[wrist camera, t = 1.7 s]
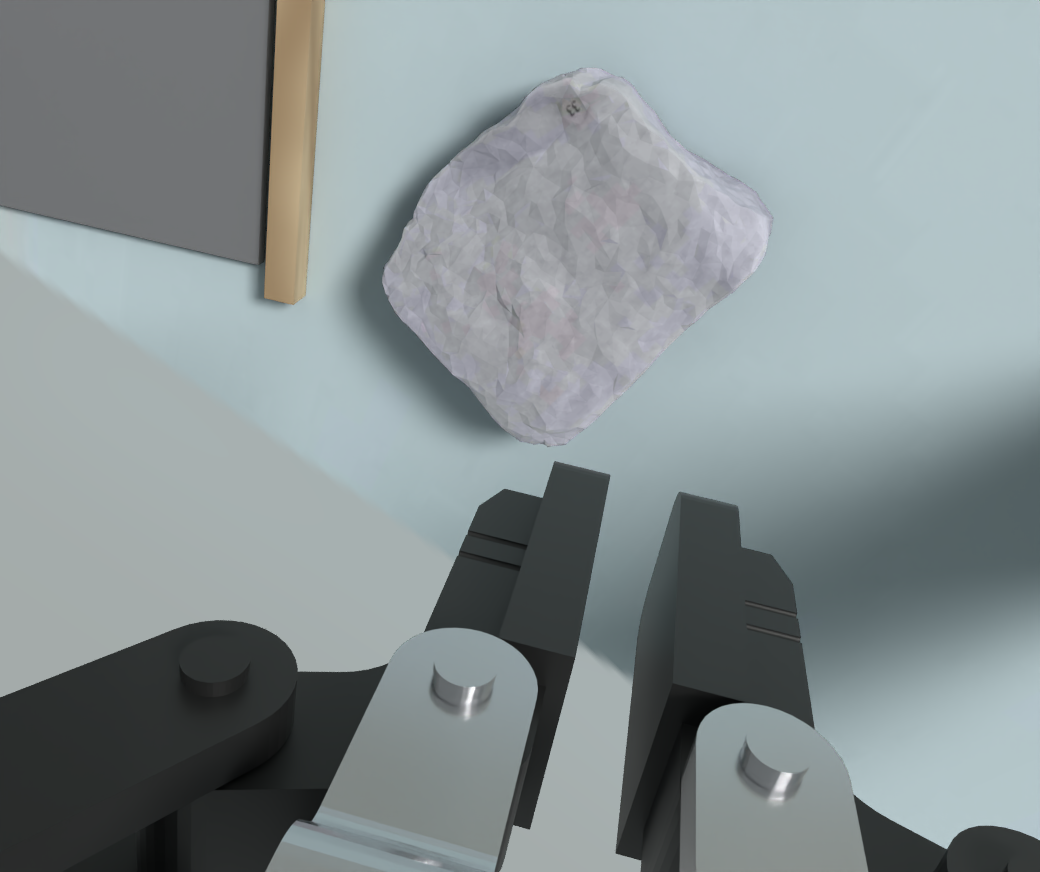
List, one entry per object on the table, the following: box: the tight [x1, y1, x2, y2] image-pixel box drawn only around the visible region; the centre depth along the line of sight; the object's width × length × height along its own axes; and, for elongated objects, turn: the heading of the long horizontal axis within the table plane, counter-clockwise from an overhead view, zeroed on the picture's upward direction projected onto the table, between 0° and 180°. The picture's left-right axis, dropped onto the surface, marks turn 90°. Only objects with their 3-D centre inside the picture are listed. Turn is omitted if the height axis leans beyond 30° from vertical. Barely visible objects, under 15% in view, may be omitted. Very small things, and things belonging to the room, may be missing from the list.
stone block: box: [382, 68, 773, 447], centre depth 32 cm, size 12×5×10 cm
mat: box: [0, 0, 275, 265], centre depth 33 cm, size 11×12×1 cm
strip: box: [264, 0, 325, 305], centre depth 32 cm, size 1×14×1 cm, turn 170°
